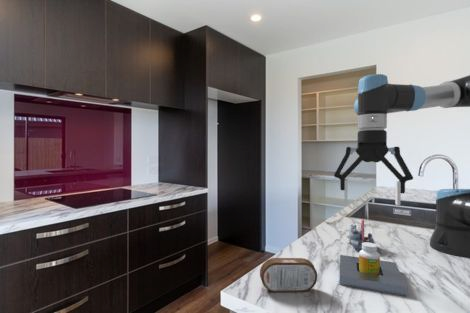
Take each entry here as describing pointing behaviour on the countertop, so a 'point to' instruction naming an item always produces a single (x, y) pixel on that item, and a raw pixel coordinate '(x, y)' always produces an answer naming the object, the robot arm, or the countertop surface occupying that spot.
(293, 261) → the tin
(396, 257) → the countertop surface
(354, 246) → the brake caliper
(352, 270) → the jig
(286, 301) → the countertop surface
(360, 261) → the supplement bottle
